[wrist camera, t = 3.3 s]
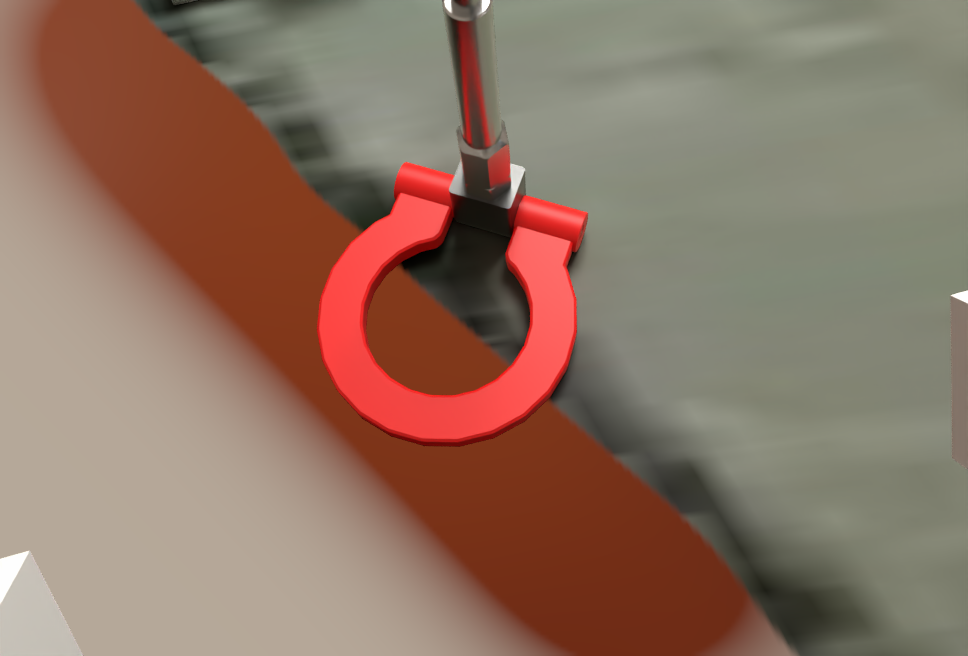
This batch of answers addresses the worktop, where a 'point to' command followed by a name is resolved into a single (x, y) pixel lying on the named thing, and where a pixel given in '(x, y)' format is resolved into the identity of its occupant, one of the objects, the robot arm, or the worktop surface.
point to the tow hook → (423, 226)
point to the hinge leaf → (181, 1)
